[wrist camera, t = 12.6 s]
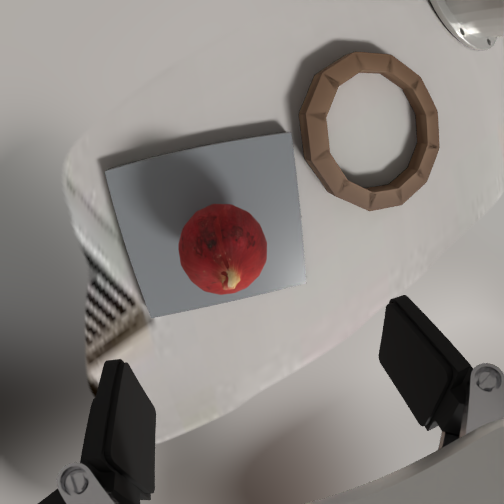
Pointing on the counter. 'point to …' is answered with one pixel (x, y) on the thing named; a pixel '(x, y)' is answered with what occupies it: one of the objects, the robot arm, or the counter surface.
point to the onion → (222, 249)
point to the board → (198, 197)
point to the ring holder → (318, 141)
